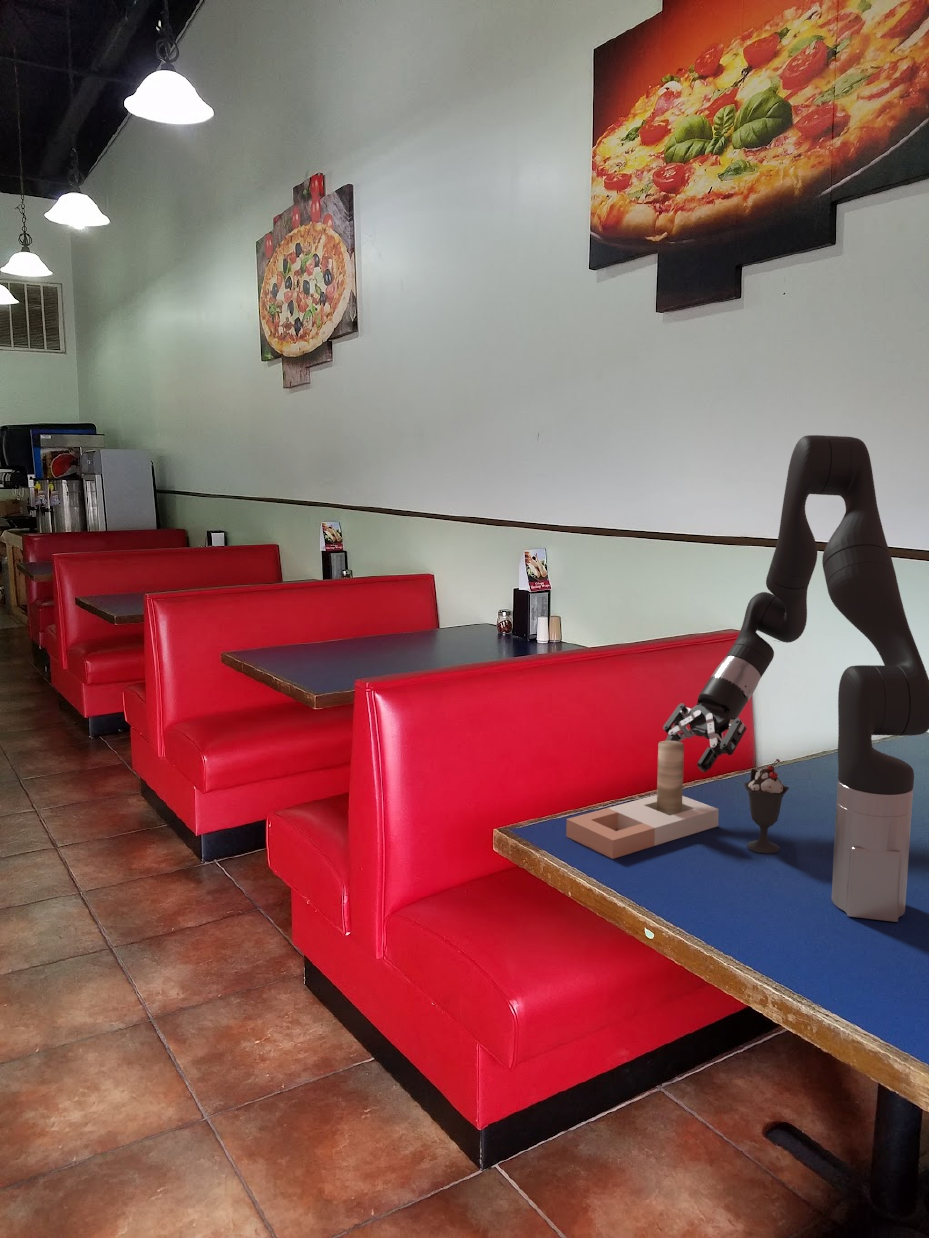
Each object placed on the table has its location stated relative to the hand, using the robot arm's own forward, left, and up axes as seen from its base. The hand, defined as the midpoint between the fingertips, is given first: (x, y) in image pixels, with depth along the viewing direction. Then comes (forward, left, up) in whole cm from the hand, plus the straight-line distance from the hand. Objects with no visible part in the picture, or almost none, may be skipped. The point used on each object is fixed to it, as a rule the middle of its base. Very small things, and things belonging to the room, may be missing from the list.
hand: (681, 762), depth 154 cm
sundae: (-9, -13, -10) cm, 19 cm away
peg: (-2, +2, -10) cm, 11 cm away
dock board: (-7, +6, -10) cm, 13 cm away
